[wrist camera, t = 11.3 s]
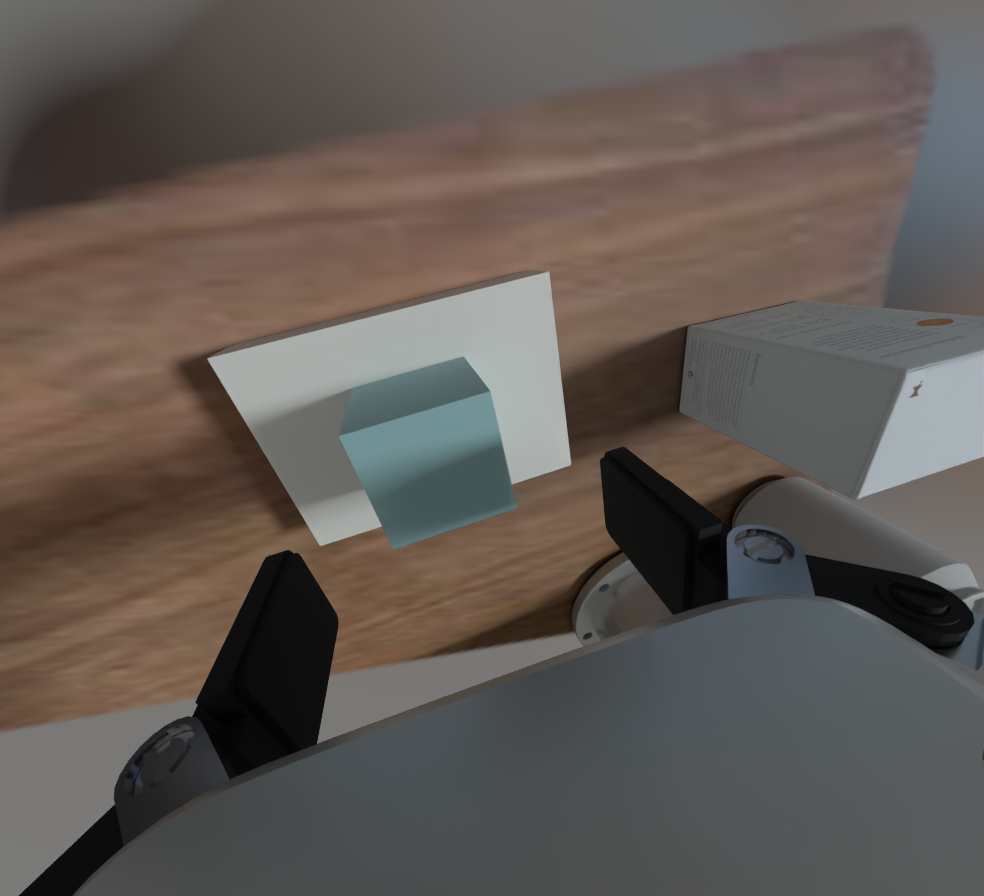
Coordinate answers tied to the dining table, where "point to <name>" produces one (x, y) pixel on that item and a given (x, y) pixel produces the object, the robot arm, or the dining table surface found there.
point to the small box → (842, 390)
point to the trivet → (389, 352)
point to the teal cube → (428, 451)
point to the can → (853, 535)
